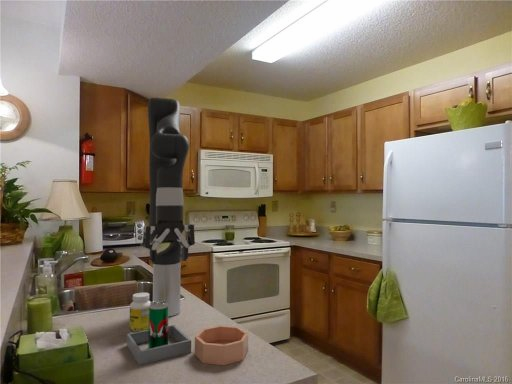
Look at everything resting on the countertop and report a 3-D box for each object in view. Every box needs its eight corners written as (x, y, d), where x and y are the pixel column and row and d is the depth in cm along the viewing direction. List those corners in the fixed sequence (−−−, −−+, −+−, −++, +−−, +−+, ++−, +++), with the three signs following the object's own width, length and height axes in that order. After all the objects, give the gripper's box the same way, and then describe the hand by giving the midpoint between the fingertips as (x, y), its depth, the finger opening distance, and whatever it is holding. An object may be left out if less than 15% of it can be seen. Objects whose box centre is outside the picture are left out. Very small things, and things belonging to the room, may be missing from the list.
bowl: (189, 349, 90) (189, 331, 91) (231, 339, 97) (231, 322, 97) (209, 369, 80) (209, 349, 80) (255, 356, 87) (256, 338, 87)
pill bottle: (125, 332, 102) (125, 294, 102) (144, 326, 106) (145, 290, 107) (136, 338, 98) (136, 298, 98) (155, 332, 102) (155, 294, 102)
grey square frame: (126, 345, 93) (126, 334, 93) (173, 335, 100) (174, 324, 100) (139, 365, 82) (139, 352, 82) (191, 352, 89) (191, 340, 89)
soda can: (170, 344, 93) (170, 299, 94) (165, 352, 88) (166, 305, 89) (151, 344, 93) (151, 299, 94) (145, 353, 88) (146, 305, 88)
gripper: (188, 204, 105) (188, 258, 104) (140, 204, 97) (139, 262, 96) (198, 204, 99) (198, 261, 98) (148, 204, 91) (147, 266, 90)
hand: (169, 262), depth 97 cm, fingers open, 8 cm apart
